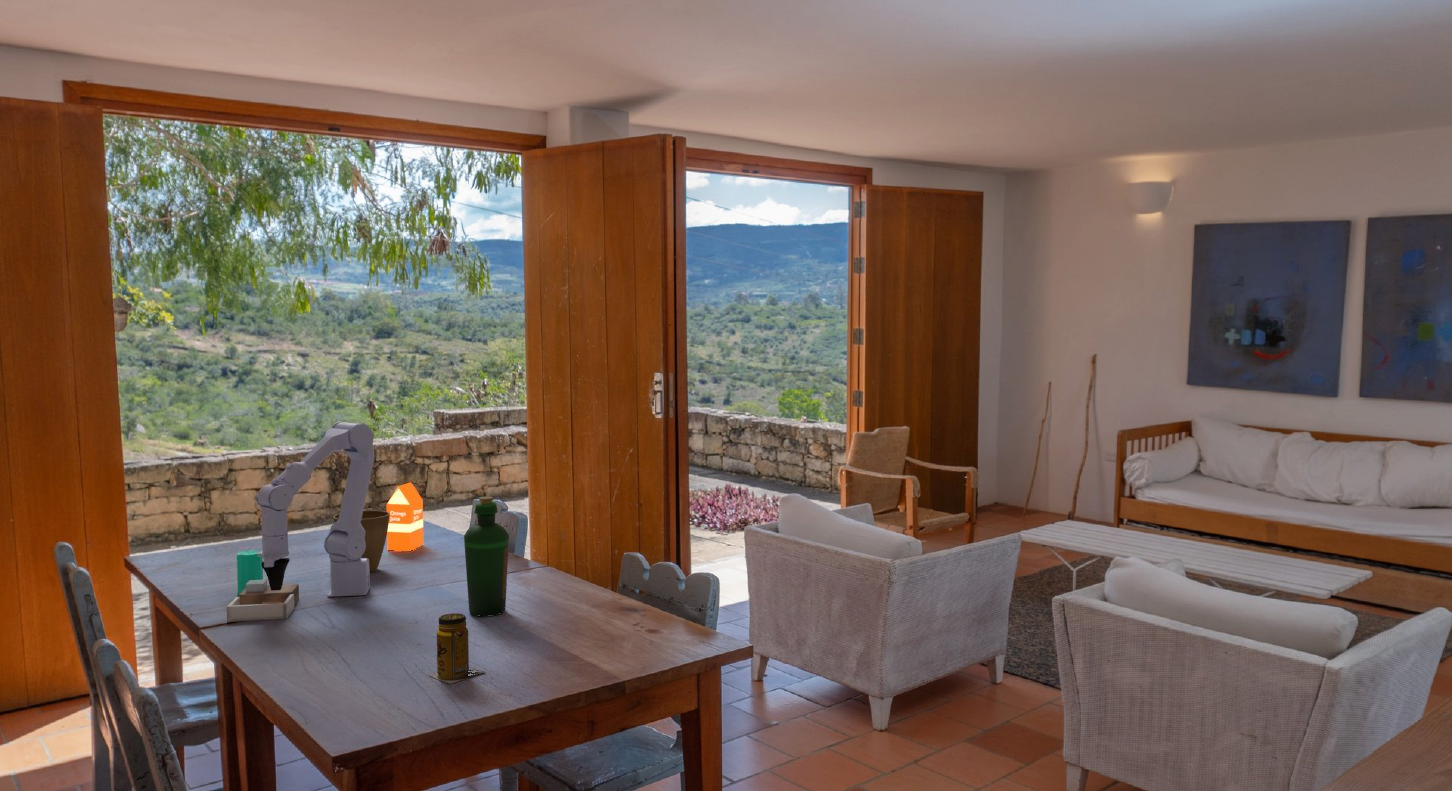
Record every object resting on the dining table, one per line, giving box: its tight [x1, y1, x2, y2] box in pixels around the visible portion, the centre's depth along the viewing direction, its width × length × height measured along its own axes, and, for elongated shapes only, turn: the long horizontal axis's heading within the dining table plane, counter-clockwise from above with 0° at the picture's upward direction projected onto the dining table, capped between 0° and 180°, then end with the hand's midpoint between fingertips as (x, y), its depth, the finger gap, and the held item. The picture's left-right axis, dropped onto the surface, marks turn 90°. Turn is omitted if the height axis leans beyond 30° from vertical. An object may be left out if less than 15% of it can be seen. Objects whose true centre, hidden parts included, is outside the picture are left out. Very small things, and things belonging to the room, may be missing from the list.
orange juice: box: [386, 481, 424, 552], centre depth 310 cm, size 8×9×20 cm
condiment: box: [428, 612, 486, 684], centre depth 199 cm, size 7×8×12 cm
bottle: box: [463, 496, 510, 617], centre depth 241 cm, size 11×11×28 cm
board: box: [238, 583, 300, 607], centre depth 247 cm, size 12×8×4 cm, turn 102°
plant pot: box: [333, 509, 390, 573], centre depth 282 cm, size 15×15×16 cm
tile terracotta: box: [262, 601, 283, 604], centre depth 238 cm, size 4×4×2 cm
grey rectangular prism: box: [246, 578, 268, 592], centre depth 246 cm, size 4×4×2 cm
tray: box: [226, 594, 295, 623], centre depth 239 cm, size 13×9×4 cm, turn 102°
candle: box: [236, 546, 264, 596], centre depth 258 cm, size 6×6×12 cm
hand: (276, 589), depth 243 cm, fingers closed
